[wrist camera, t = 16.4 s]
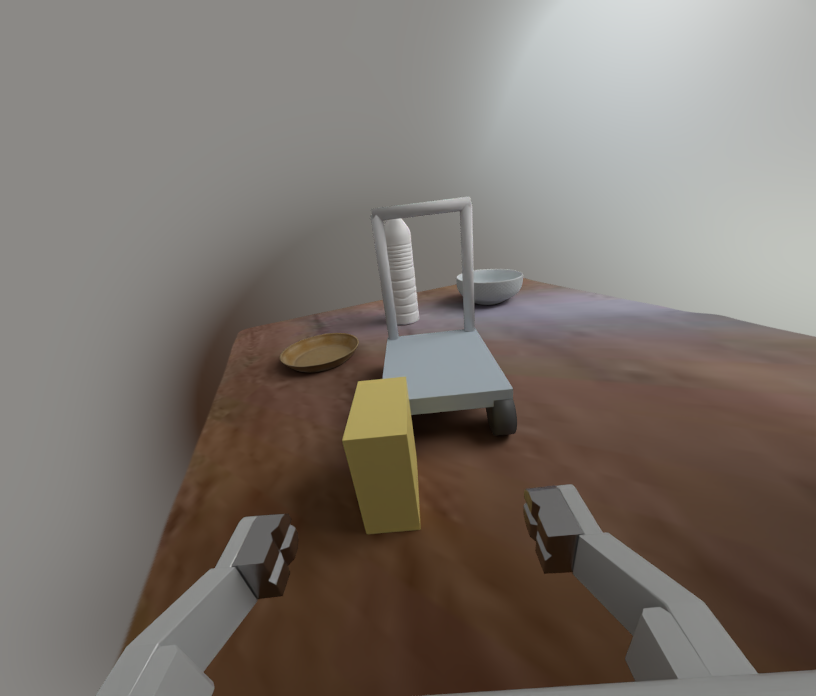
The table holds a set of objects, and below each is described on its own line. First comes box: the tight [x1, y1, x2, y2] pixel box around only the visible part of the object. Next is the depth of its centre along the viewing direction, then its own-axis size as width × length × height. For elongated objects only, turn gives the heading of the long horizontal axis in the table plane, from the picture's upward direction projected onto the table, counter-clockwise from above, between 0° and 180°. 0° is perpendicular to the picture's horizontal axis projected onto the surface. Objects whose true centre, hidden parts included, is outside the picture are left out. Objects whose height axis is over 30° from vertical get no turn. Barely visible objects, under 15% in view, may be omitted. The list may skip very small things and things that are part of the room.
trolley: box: [371, 197, 517, 436], centre depth 37 cm, size 14×21×25 cm, turn 1°
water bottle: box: [384, 218, 419, 325], centre depth 67 cm, size 9×6×25 cm
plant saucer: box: [280, 333, 359, 373], centre depth 58 cm, size 15×15×3 cm
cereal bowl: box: [456, 269, 523, 305], centre depth 79 cm, size 17×17×7 cm
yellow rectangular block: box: [342, 376, 420, 534], centre depth 26 cm, size 4×8×10 cm, turn 1°
